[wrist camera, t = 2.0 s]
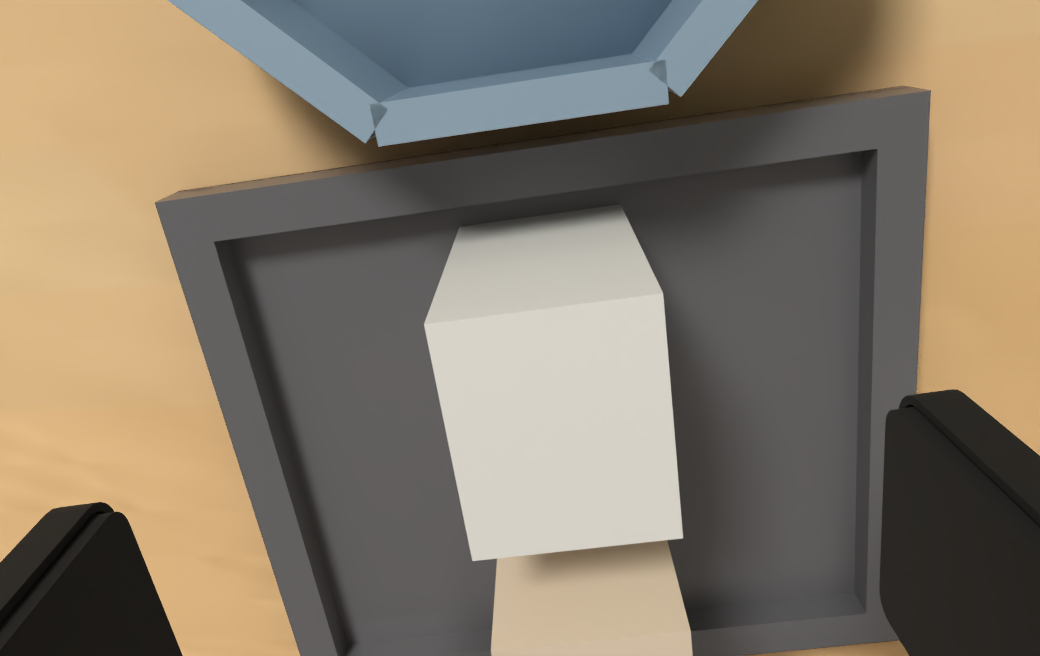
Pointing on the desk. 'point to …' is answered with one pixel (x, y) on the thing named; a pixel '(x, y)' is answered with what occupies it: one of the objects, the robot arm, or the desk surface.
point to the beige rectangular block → (590, 603)
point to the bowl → (472, 57)
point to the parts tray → (691, 351)
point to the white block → (556, 385)
